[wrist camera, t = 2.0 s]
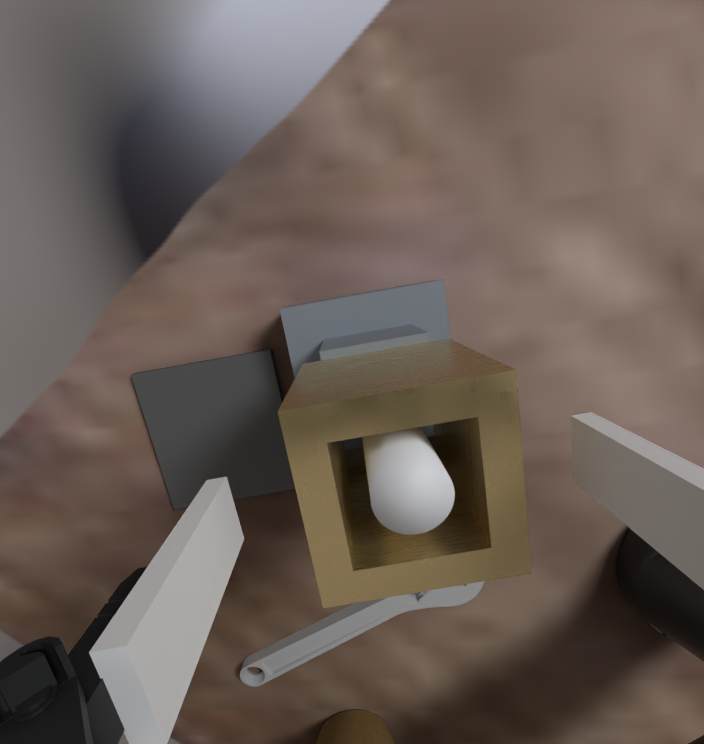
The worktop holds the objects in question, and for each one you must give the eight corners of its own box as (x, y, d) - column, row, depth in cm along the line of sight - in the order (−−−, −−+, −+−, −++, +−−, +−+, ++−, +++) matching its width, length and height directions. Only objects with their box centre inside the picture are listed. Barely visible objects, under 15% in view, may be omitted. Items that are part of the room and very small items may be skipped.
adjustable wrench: (253, 674, 37) (248, 694, 35) (220, 628, 35) (213, 645, 33) (484, 578, 34) (492, 593, 33) (459, 525, 33) (465, 537, 31)
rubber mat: (302, 484, 31) (301, 488, 31) (177, 506, 32) (174, 510, 31) (271, 348, 29) (269, 350, 28) (135, 373, 29) (130, 374, 28)
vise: (450, 448, 31) (574, 630, 14) (322, 470, 31) (300, 675, 15) (429, 281, 28) (557, 268, 11) (288, 306, 28) (209, 330, 11)
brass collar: (463, 470, 22) (531, 573, 14) (330, 493, 22) (323, 608, 14) (447, 338, 20) (516, 369, 12) (302, 363, 20) (277, 411, 12)
